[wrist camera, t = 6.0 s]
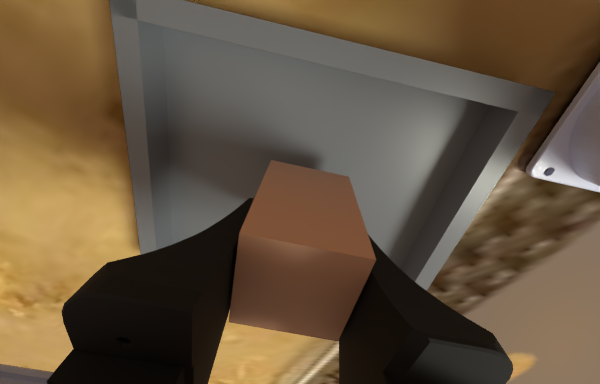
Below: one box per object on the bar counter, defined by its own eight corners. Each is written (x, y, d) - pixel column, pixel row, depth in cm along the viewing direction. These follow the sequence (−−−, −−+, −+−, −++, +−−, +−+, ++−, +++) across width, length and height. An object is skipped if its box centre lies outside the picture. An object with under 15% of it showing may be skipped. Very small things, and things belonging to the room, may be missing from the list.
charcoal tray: (512, 87, 12) (556, 92, 10) (391, 299, 20) (401, 329, 17) (147, -3, 11) (107, -19, 9) (164, 256, 19) (144, 282, 16)
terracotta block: (348, 176, 12) (376, 259, 7) (328, 238, 14) (337, 341, 9) (271, 159, 12) (239, 232, 7) (260, 224, 14) (228, 322, 9)
